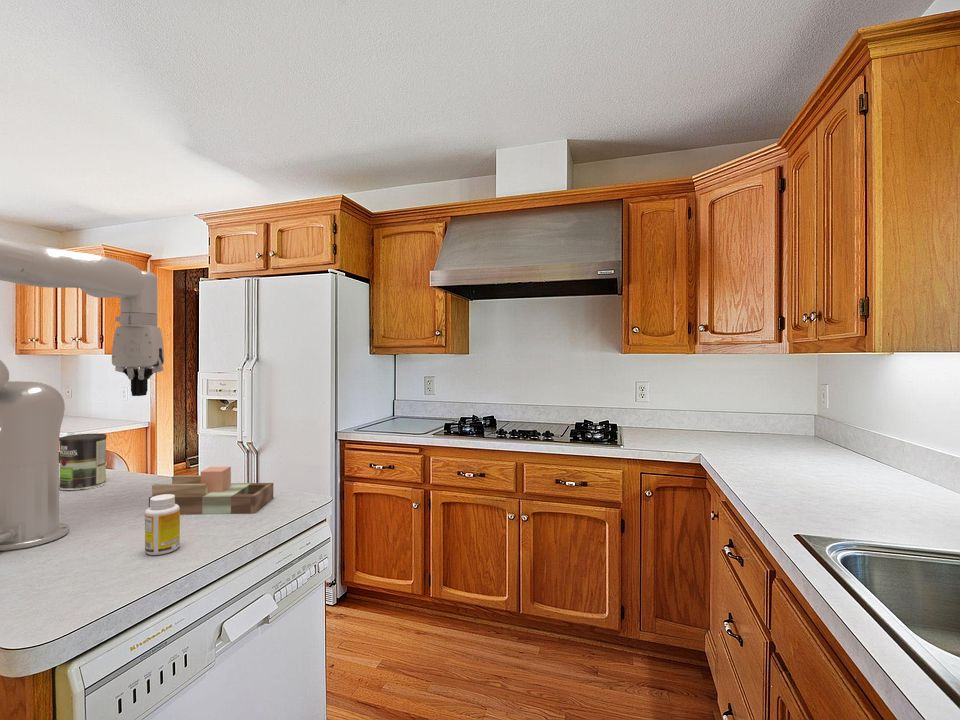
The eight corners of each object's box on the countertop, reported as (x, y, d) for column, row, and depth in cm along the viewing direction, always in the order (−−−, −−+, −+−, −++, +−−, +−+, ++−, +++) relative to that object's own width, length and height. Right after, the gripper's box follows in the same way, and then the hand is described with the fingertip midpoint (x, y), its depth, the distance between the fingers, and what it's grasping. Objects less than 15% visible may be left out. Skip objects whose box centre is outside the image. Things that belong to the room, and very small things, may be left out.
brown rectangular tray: (255, 513, 113) (255, 485, 113) (148, 514, 112) (148, 486, 111) (273, 498, 125) (273, 473, 125) (177, 499, 123) (177, 474, 123)
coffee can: (76, 492, 129) (76, 440, 129) (49, 489, 132) (49, 438, 132) (115, 483, 139) (115, 434, 138) (90, 480, 142) (90, 432, 141)
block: (222, 491, 117) (222, 471, 117) (200, 492, 116) (200, 471, 116) (230, 486, 122) (230, 466, 122) (210, 486, 121) (210, 466, 121)
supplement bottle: (185, 544, 95) (185, 492, 95) (170, 555, 89) (170, 501, 89) (155, 545, 94) (155, 493, 94) (138, 556, 89) (138, 501, 88)
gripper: (96, 319, 114) (96, 396, 114) (161, 320, 115) (161, 397, 116) (117, 322, 122) (117, 394, 122) (179, 322, 123) (179, 394, 123)
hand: (139, 395), depth 119 cm, fingers closed
